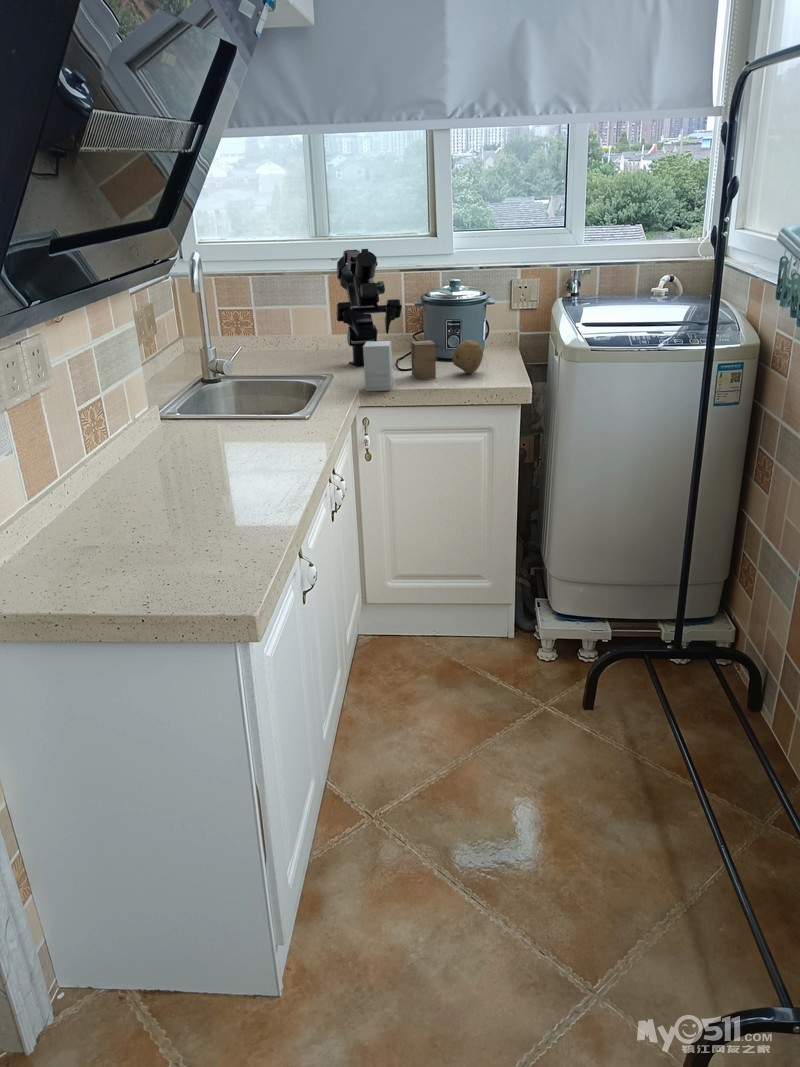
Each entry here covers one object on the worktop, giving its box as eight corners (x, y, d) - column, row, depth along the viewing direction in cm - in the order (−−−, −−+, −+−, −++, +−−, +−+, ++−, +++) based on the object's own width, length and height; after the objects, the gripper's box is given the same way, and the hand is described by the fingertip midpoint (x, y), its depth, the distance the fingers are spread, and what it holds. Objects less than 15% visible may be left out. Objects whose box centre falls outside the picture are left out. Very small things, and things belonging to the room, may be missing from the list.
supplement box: (393, 385, 239) (392, 340, 234) (390, 391, 232) (389, 345, 227) (368, 385, 240) (366, 340, 235) (364, 391, 233) (362, 345, 228)
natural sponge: (451, 377, 246) (451, 343, 242) (453, 370, 254) (453, 337, 250) (482, 377, 245) (483, 342, 241) (483, 370, 253) (483, 337, 249)
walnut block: (411, 375, 250) (411, 341, 246) (431, 373, 251) (430, 340, 247) (415, 379, 245) (415, 345, 241) (435, 378, 246) (435, 344, 242)
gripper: (335, 273, 236) (342, 318, 231) (399, 270, 240) (408, 314, 234) (333, 298, 247) (340, 342, 241) (395, 295, 250) (403, 338, 244)
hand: (373, 333), depth 240 cm, fingers open, 8 cm apart
